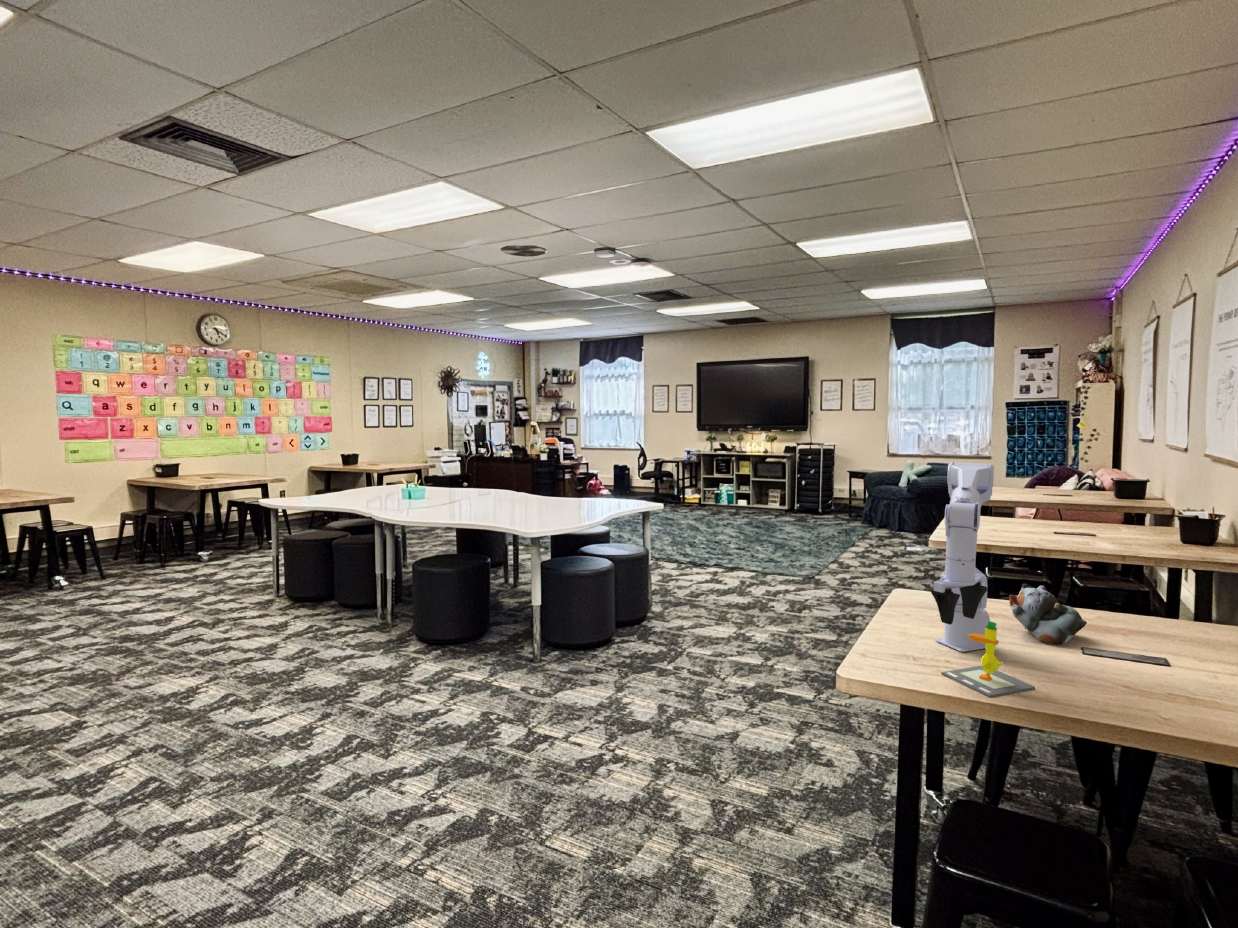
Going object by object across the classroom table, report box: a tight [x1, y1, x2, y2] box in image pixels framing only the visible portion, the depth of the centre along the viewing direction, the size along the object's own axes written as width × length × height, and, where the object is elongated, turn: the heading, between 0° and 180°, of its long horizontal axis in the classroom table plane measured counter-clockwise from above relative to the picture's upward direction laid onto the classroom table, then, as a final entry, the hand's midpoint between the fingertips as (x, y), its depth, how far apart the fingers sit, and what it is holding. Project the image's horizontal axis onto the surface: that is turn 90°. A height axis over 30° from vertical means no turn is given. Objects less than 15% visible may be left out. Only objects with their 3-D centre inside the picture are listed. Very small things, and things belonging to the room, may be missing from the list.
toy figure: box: [968, 621, 1004, 681], centre depth 137 cm, size 7×4×12 cm, turn 45°
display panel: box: [940, 665, 1036, 698], centre depth 138 cm, size 12×12×1 cm
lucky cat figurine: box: [1008, 582, 1088, 646], centre depth 165 cm, size 15×12×14 cm
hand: (957, 620), depth 144 cm, fingers open, 7 cm apart
